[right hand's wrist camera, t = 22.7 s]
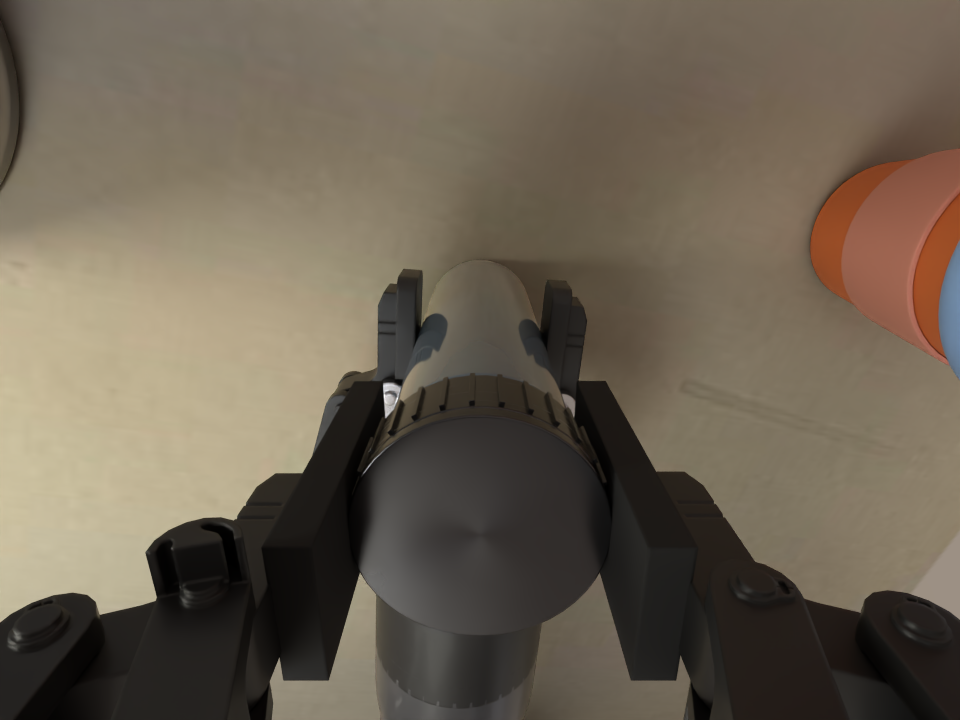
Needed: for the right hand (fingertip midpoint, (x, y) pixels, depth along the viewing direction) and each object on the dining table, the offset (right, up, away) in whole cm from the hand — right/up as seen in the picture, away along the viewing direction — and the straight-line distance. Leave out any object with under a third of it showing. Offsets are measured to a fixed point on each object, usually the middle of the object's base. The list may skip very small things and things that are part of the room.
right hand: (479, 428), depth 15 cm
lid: (0, -1, -4) cm, 4 cm away
